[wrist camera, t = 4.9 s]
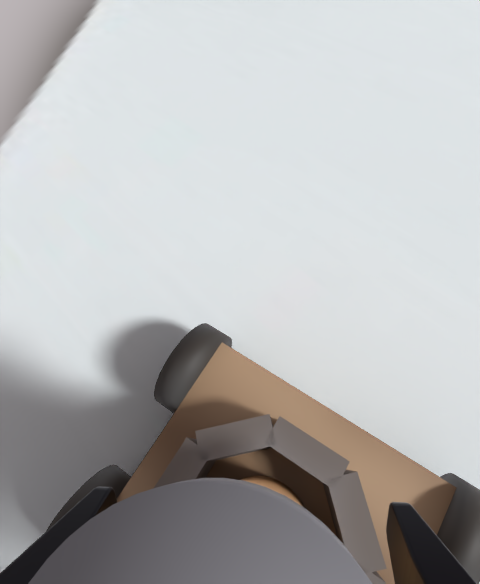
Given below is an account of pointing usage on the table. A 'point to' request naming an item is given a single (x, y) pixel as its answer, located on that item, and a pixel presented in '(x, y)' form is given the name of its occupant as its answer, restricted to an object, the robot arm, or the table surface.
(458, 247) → the table surface
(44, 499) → the table surface
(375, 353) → the table surface
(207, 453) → the trolley
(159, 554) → the pin
